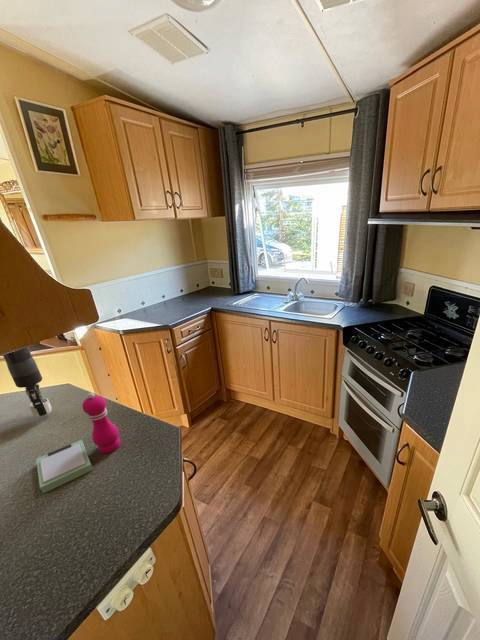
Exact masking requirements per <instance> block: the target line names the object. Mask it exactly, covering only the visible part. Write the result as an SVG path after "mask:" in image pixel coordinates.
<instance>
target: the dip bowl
mask: <svg viewBox="0 0 480 640" xmlns="http://www.w3.org/2000/svg"><path fill="white" fill-rule="evenodd" d="M42 402H43V403H44V407H45V410H46V412H47V414H46V415H48V414H51V412H52V411H53V407H52V404H51V402H50V400H49V398H47V397H43V399H42ZM36 404H40V402H38V403H36ZM28 408H29V409H30V411H31V414H32V415H33V416H34V417H37V418H38V417H41V416H39V413H38V411H37V409H35V408H34V405H33V403H32V402H31V401H30V402H29V403H28ZM44 416H45V415H43V416H42V417H44Z"/></svg>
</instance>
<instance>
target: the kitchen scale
mask: <svg viewBox="0 0 480 640" xmlns="http://www.w3.org/2000/svg"><path fill="white" fill-rule="evenodd" d="M35 462H36V469H37V477H38V484H39V489H40V491H41V492H42V494H45V493H48V492H49V491H52V490H53V489H56V488H58V487H60V486H62V485H64V484H67V483H69V482H71V481H72V480H75V479H77V478H79V477H81V476H83V475H85V474H87V473H89V472H92V471H94V468H93V465H92V463H91V460H90V457H89V455H88V452H87V449H86V447H85V444H84V441H83V439H81V440H78V441H75V442H73V443H70V444H67V445H65V446H62V447H60V448H57V449H55V450H53V451H51V452H48V453H46V454H43V455H42V456H39V457H37V458H35Z"/></svg>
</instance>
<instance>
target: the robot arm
mask: <svg viewBox="0 0 480 640" xmlns="http://www.w3.org/2000/svg"><path fill="white" fill-rule="evenodd" d="M2 357H3V360H4V362H5V363H6V367H7V370H8V372H9V374H10V376H11V378H12V381H13V382H14V385H15V386H16V388H19V389H23V388H24V390H25V393H26V396H28V399H29V401H30V403H31V402H32V403H33V405H34V408H35V409H37V411H38V413H39V416H40V417H44V416H47V415H48V414H47V412H46V410H45V407H44V403H43V402H42V399H43V398H44V397H43V395H42V390H41V387H40V384H39V383H40V382H42V381H43V376H42V374H41V371H40V369H39V367H38V365H37V363H36V360H35V359H34V357H33V354H32V353H31V350H30V349H29V346H28V347H26V348H23V349H21V350H18V351H15V352H12V353H9V354H6V355H2ZM38 402H40V404H36V403H38ZM43 415H44V416H43Z"/></svg>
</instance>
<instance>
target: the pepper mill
mask: <svg viewBox="0 0 480 640" xmlns="http://www.w3.org/2000/svg"><path fill="white" fill-rule="evenodd" d="M86 397H87V398H86V399H84V400H83V402H82V404H81V405H82V410H83V412H84V413H85V414H87V417H88V419H89V420H90V421H91V422H92V426H93V429H92V434H91V435H92V436H91V439H92V442H93V444H94V445H96V446H97V450H98V452H99V453H100V454H111V453H112V452H115V451H116V450H117V449H118V448H120V446H121V443H122V442H121V439H120V437H119V436H120V431H119V429H118V427H117V426H116V425H115V424H114V423H112V421H110V420H109V418H108V410H107V408H106V407H107V402H106V399H105V398H104V397H103V396H101V395H95V393H93V392H89V393H87V395H86Z"/></svg>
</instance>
